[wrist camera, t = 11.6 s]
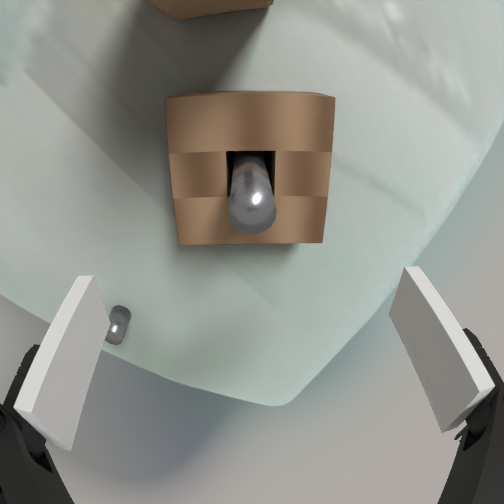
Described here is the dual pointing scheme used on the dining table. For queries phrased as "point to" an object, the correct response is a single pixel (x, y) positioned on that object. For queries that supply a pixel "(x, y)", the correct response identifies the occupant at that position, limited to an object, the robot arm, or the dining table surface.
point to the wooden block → (205, 7)
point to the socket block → (249, 139)
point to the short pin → (117, 324)
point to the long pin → (251, 194)
